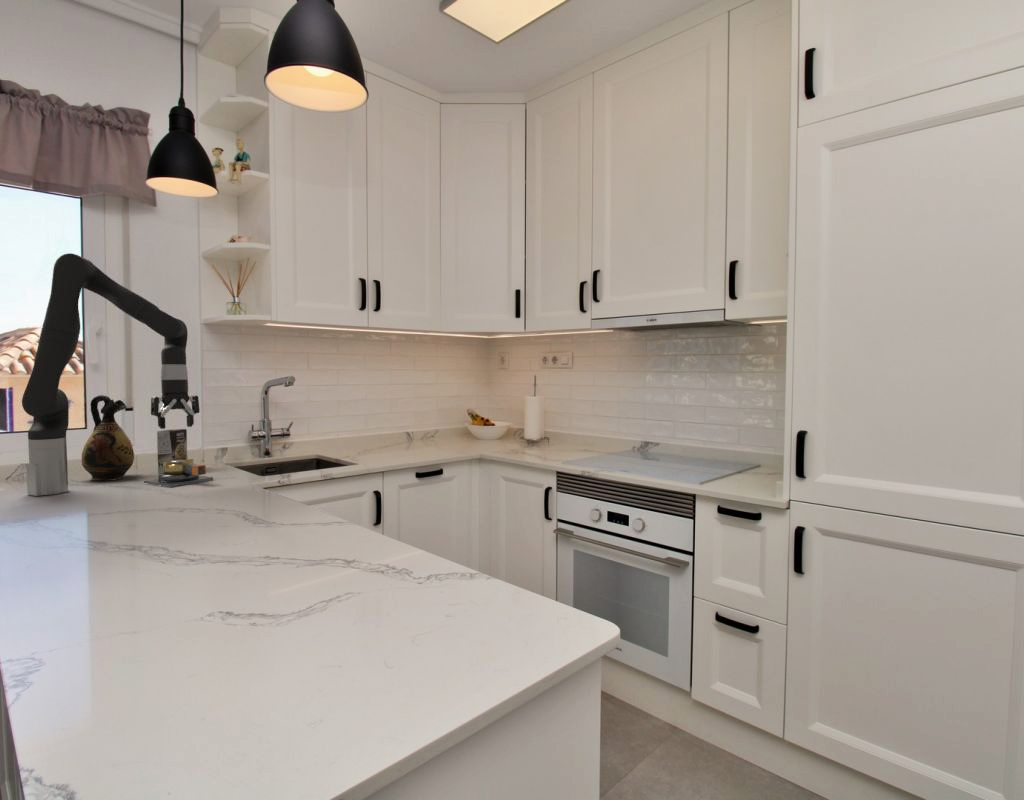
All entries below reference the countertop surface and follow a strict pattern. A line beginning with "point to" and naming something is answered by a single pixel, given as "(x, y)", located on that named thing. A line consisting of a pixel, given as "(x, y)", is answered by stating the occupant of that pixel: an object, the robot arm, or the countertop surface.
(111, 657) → the countertop surface
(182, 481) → the housing
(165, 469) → the rotary lever handle
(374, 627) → the countertop surface
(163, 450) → the coffee box
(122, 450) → the ceramic jug
